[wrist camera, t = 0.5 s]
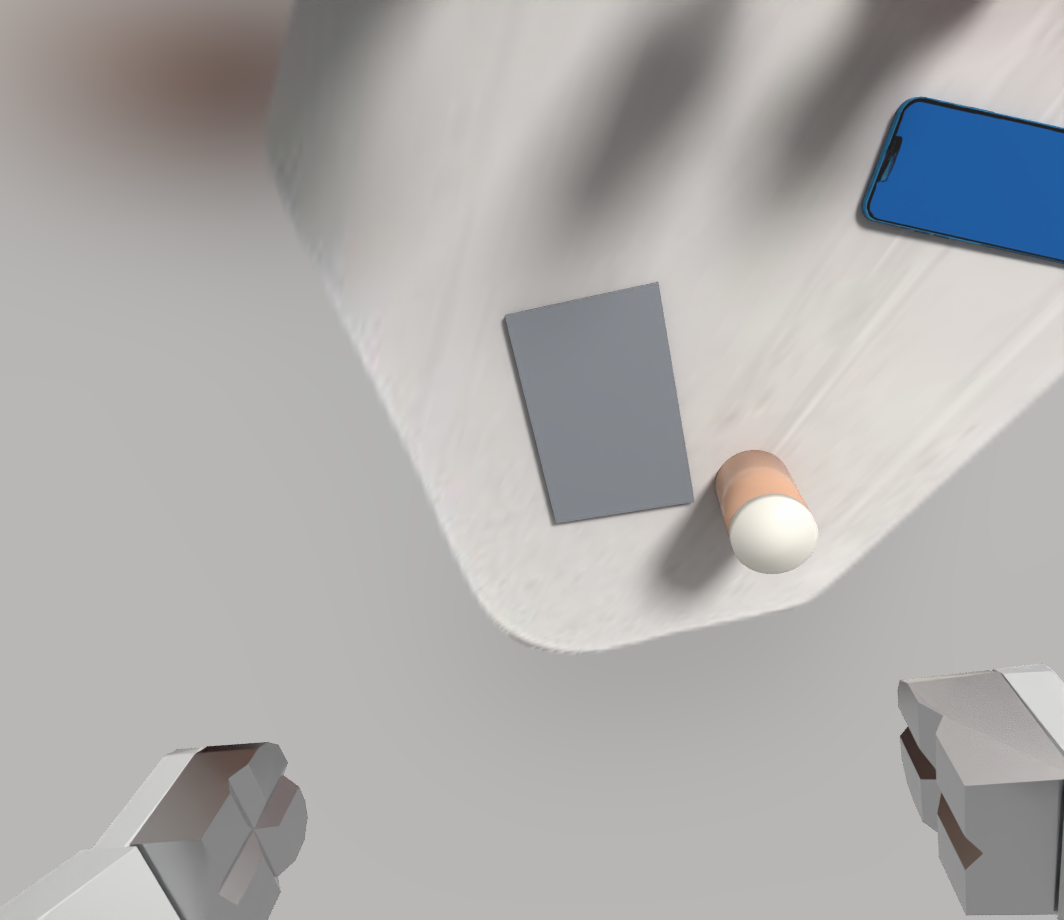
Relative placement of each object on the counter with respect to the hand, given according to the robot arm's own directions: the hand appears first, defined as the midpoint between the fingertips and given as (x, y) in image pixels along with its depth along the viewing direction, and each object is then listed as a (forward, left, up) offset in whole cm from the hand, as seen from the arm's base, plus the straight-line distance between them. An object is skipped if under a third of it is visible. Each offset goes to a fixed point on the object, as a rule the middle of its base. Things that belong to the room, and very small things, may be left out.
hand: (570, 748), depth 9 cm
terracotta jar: (+18, +8, -44) cm, 48 cm away
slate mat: (+10, -2, -43) cm, 45 cm away
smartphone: (0, +25, -44) cm, 50 cm away
